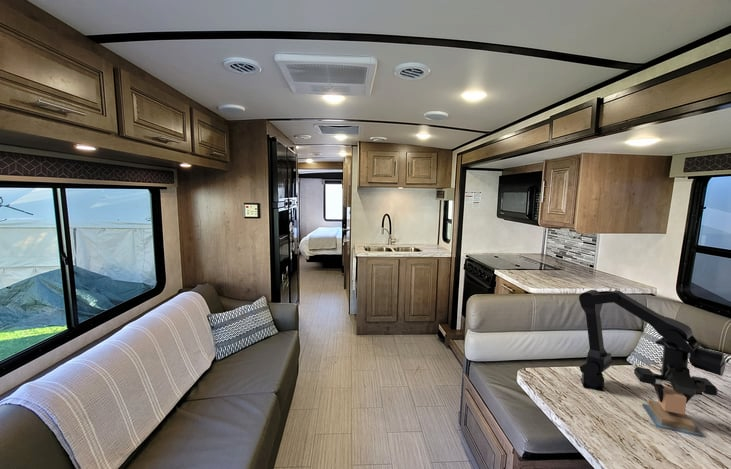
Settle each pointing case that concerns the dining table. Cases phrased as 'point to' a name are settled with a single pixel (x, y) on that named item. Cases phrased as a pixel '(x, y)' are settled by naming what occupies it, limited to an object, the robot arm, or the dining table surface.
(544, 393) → the dining table surface
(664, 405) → the terracotta cube
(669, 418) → the foundation block
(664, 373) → the robot arm
